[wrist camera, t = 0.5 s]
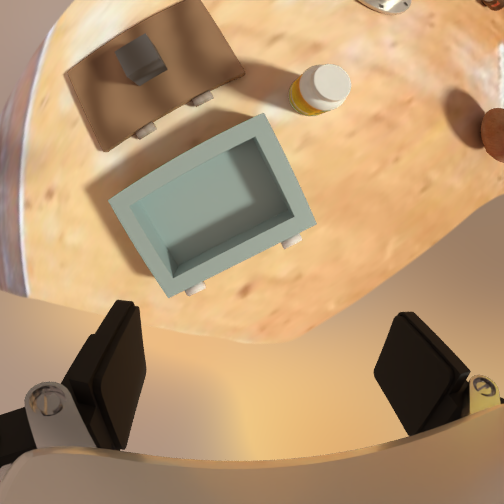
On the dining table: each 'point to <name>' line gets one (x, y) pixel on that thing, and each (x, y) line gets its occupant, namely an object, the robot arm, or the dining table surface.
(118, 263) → the dining table surface
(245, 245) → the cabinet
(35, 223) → the dining table surface
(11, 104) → the dining table surface
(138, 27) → the door
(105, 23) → the dining table surface
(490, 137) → the onion
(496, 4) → the tin
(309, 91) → the supplement bottle
